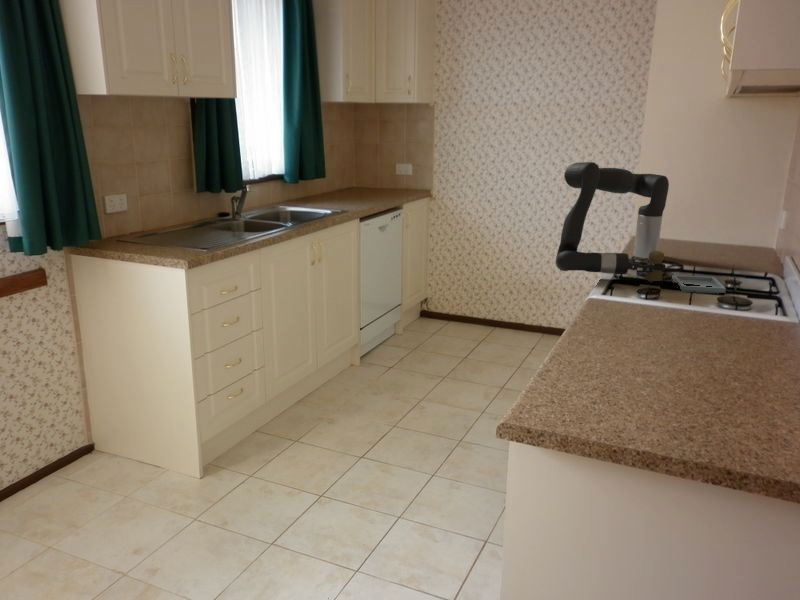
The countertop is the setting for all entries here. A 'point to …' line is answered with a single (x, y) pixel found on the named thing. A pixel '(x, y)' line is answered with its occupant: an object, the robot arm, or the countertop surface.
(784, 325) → the countertop surface
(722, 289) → the tray
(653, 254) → the cork
